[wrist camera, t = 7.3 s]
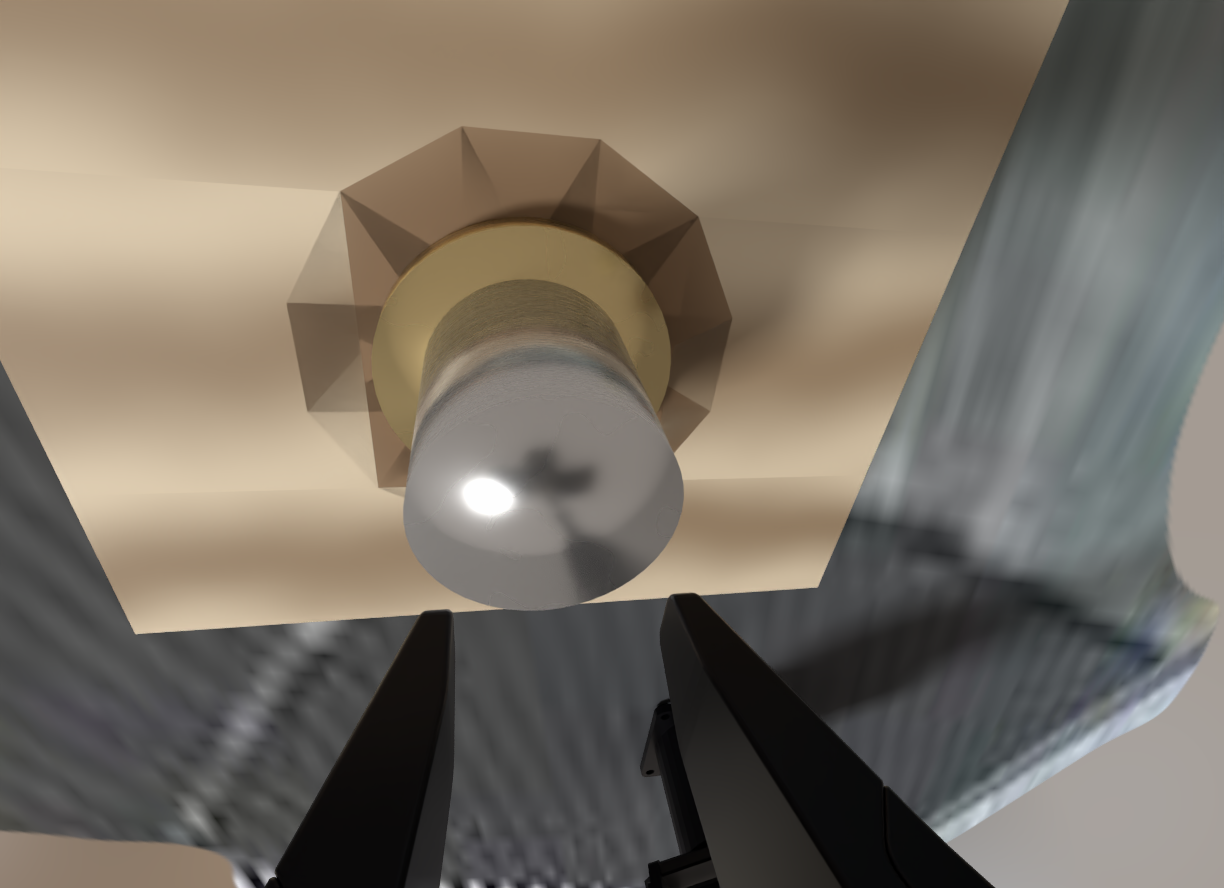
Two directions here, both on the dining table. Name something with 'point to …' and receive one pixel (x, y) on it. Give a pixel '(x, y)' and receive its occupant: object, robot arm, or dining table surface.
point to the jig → (447, 201)
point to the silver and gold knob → (529, 413)
